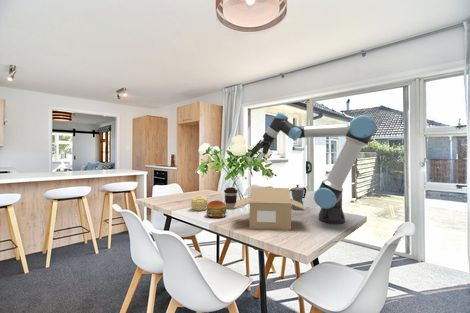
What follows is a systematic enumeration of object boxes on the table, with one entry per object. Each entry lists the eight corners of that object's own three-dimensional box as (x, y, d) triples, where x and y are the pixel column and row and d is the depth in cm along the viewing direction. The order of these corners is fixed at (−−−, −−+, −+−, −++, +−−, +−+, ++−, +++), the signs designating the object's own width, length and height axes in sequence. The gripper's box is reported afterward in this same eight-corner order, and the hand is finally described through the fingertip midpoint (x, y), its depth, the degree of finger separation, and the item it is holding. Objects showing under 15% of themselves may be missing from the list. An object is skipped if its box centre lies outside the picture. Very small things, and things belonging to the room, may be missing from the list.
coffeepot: (295, 211, 168) (295, 186, 167) (286, 208, 176) (286, 184, 176) (310, 209, 175) (311, 184, 175) (301, 206, 183) (301, 183, 183)
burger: (201, 216, 153) (201, 200, 153) (216, 212, 163) (216, 198, 163) (216, 220, 144) (216, 203, 144) (231, 216, 154) (231, 200, 154)
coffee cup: (235, 210, 170) (236, 189, 170) (222, 209, 172) (222, 188, 172) (238, 207, 180) (238, 187, 180) (225, 206, 182) (225, 186, 182)
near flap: (289, 188, 131) (289, 188, 130) (290, 203, 126) (290, 203, 125) (250, 187, 132) (250, 187, 132) (250, 202, 127) (250, 202, 127)
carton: (298, 217, 152) (298, 195, 152) (307, 230, 125) (307, 204, 125) (237, 215, 155) (237, 193, 155) (233, 228, 128) (233, 202, 128)
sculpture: (191, 212, 163) (191, 196, 163) (190, 208, 174) (190, 193, 174) (208, 211, 165) (208, 196, 165) (206, 207, 177) (206, 193, 177)
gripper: (274, 133, 165) (258, 157, 172) (257, 129, 145) (239, 157, 152) (282, 139, 162) (265, 163, 169) (266, 136, 141) (248, 164, 148)
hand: (253, 161), depth 160 cm, fingers open, 13 cm apart
